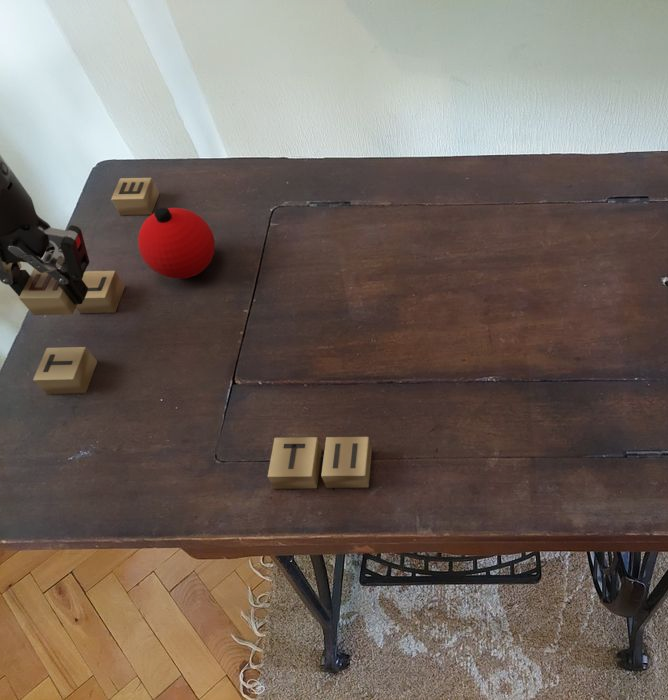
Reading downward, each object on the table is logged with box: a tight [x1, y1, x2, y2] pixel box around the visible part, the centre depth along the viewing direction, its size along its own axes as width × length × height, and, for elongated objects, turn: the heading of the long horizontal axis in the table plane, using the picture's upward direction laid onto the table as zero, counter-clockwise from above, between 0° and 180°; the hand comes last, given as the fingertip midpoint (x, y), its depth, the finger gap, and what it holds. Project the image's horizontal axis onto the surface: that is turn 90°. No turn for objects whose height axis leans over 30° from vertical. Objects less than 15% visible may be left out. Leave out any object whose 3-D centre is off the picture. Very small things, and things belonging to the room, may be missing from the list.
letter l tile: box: [75, 270, 126, 314], centre depth 82 cm, size 4×4×3 cm
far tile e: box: [110, 177, 160, 216], centre depth 93 cm, size 4×4×3 cm
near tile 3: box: [321, 436, 373, 489], centre depth 69 cm, size 4×4×3 cm
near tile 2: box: [267, 436, 323, 490], centre depth 68 cm, size 4×4×3 cm
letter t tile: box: [32, 346, 98, 395], centre depth 75 cm, size 4×4×3 cm
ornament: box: [137, 207, 216, 280], centre depth 83 cm, size 9×9×10 cm
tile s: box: [18, 267, 86, 316], centre depth 73 cm, size 4×4×3 cm
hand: (58, 298), depth 74 cm, fingers closed on tile s, 4 cm apart
